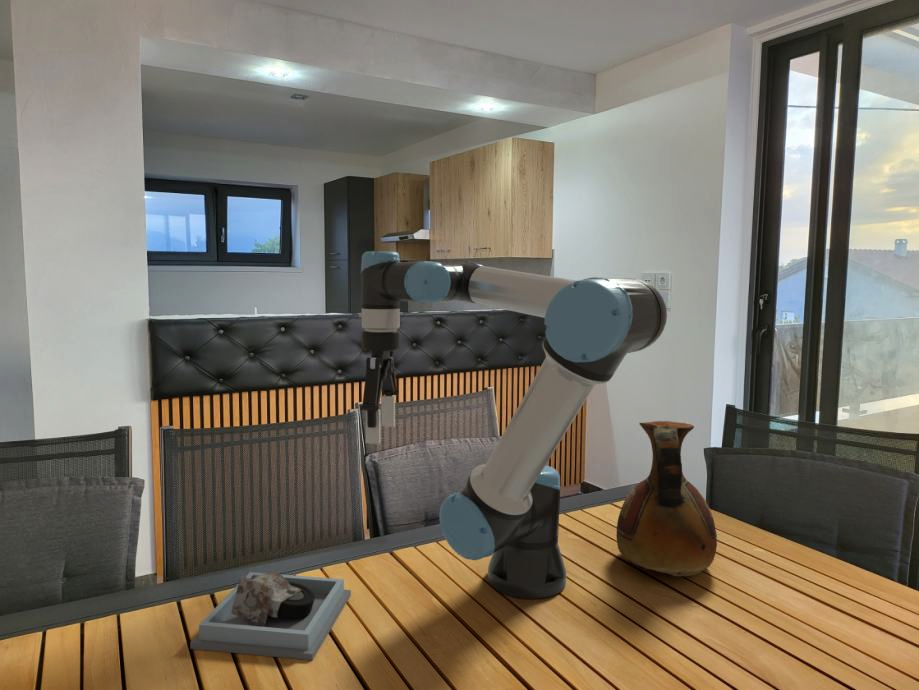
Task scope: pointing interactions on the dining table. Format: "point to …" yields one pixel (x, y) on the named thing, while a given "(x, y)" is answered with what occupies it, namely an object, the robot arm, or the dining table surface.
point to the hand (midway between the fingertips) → (380, 434)
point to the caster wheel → (271, 599)
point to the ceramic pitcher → (667, 511)
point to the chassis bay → (275, 624)
